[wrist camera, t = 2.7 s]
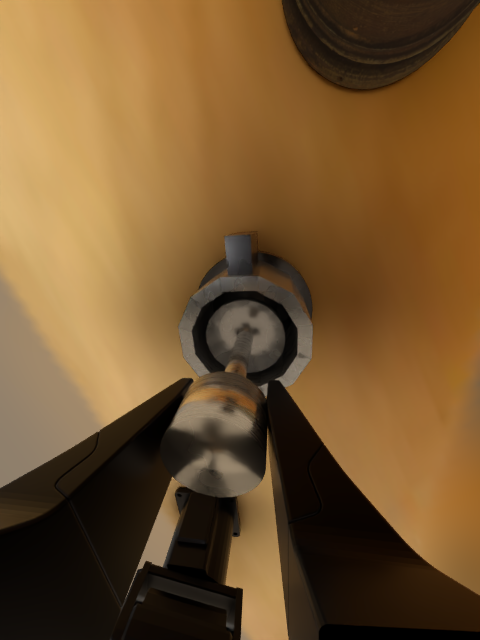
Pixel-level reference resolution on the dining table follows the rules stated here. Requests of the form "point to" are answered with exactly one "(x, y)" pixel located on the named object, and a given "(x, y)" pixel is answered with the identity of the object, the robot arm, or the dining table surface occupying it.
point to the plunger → (226, 405)
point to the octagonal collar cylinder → (259, 283)
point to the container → (372, 36)
